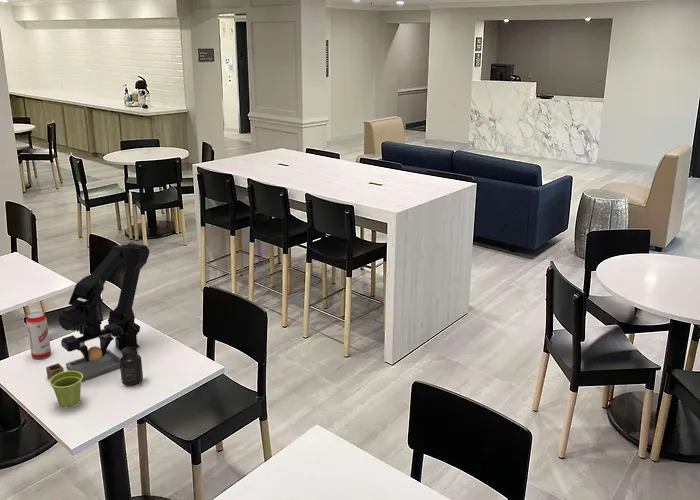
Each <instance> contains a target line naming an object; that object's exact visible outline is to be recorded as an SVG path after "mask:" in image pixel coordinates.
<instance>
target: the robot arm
mask: <svg viewBox="0 0 700 500" xmlns="http://www.w3.org/2000/svg"><path fill="white" fill-rule="evenodd" d="M148 247H149V246H147V245H145V244H141V243H136V242H129V243H128V244H119V245H114V246H112V248H111V249H110V252H109V253H108V254H107V255H106V257H104V259H103V260H102V261H101V263H99V265H98V266H97V267H96V268H95V270H94V271H93V272H92V273H91V274H89V275H87V276H84V277H82V278H81V280H79V281H78V282H77V283H76V284H75V286H74V287H73V291H72V293H71V296H70V299H69V301H68V305H70V307H67V308H65V309H62V313H61V314H60V315H59V316H58V323H59V325H60V327H61V328H62V329H63V330H65V331H71V332H74V331H76V332H78V333H79V334H80V335H81V336H79V337H76V336H74V334H73V335H70V336H66V337H63V338H61V342H60V343H61V347H62V348H63V349H64V350H66V351H67V352H69V353H70V352H74V351H76V350H77V351H78V352H79V351H80V353H81V354H82V356H83V358H85V360H86V361H87V362H88V361H89V357H88V349H89V348H88V346H87V345H86V344H85V343H86V342H88V341H91V340H95V339H97V338H98V339H99V345H100V346H99V348H100V349H101V350H102V357H103V356H104V354H105V352H106V350H107V349H108V347H109V345H110V344H111V342H112V341H113V340H114V341H115V348H116V349H117V350H118V351H120V352H121V353H122V349H123V348H125V347H128V346H134V347H136V348H137V349H139V348H140V345H139V344H138V339H137V338H138V334H139V333H140V331H141V325H139V324H137V323H135V318H136V317H135V313H134V310H133V306H134V301H135V296H136V291H137V286H138V283H139V277H140V273H141V269H142V268H143V267H144V266H145V265H146V264H147V262H148V259H149V257H150V249H149V248H148ZM122 262H124V265H125V269H124V270H125V271H124V273H123V280H122V285H121V289H120V293H119V298H118V303H117V306H116V307H115V308H114V309H112V310H110V311H109V313H108V314H109V315H108V319H107V322H108V324H105V325H104V326H103V328H101V325H102V320H101V319H100V318H101V316H100V309H99V304H100V303H101V302H103V301H104V299H103V298H101V297H100V296H101V294H102V293H103V292H104V287H105V286H104V285H105V283H106V281H107V280H108V279H109V277H110V276H112V274H113V273H114V272H115V270H116V269H118V267H119V266H120V264H121V263H122ZM79 299H81V300H79ZM83 300H84V301H83Z"/></svg>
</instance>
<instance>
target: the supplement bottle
mask: <svg viewBox="0 0 700 500" xmlns="http://www.w3.org/2000/svg"><path fill="white" fill-rule="evenodd" d="M119 358H120V368H119V369H120V371H119V372H120V380H121V384H122V385H123V386H124V387H136V386H138V385H140V384H141V383H142V382H143V380H144V374H143V362H142V356H141V355H140V354H139V351H138V348H136V347H134V346H128V347H125V348H123V349H122V352H121V357H119Z"/></svg>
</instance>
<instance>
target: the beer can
mask: <svg viewBox="0 0 700 500" xmlns="http://www.w3.org/2000/svg"><path fill="white" fill-rule="evenodd" d="M47 320H48V319H47V316H46V315H45V312H43V311H33V312H31V313H28V314H27V317H26V320H25V323H26V328H27V334H28V342H29V348H30V355H31V357H32V358H33V359H36V360H42V359H45V358H47V357H49V356H50V354H51V353H52V348H51V342H50V334H49V327H48V321H47Z"/></svg>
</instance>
